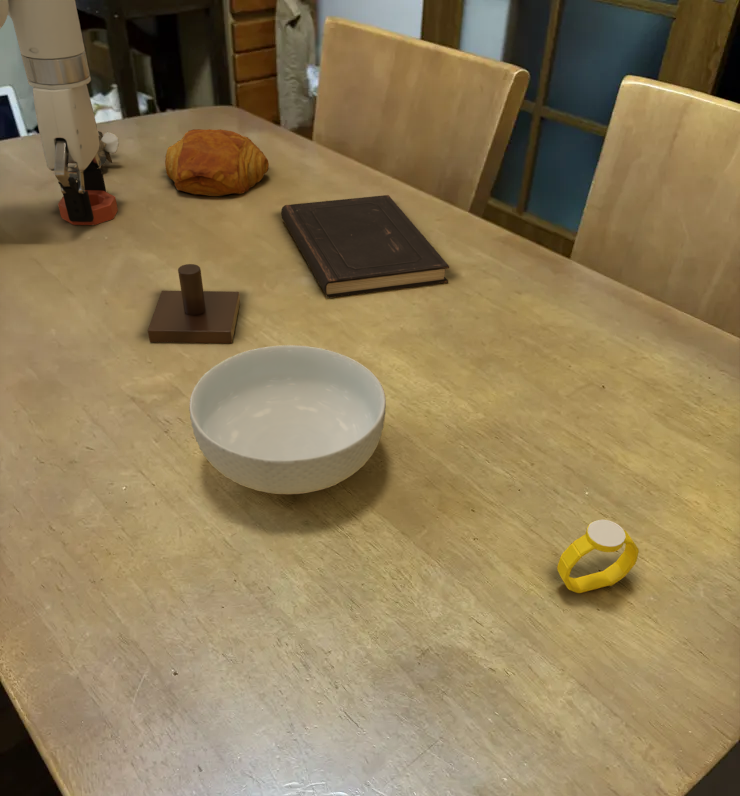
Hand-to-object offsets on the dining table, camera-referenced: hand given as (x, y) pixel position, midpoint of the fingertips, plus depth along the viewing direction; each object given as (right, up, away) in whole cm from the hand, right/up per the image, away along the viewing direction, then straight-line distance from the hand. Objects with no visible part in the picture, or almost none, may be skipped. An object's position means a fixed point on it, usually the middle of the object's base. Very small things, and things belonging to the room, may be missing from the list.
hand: (88, 208), depth 106 cm
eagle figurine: (-5, +11, +13) cm, 18 cm away
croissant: (+16, +8, +11) cm, 21 cm away
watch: (+57, -48, -47) cm, 87 cm away
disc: (0, -1, +1) cm, 1 cm away
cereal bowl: (+32, -37, -37) cm, 61 cm away
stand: (+20, -21, -20) cm, 35 cm away
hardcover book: (+38, -8, -5) cm, 39 cm away
